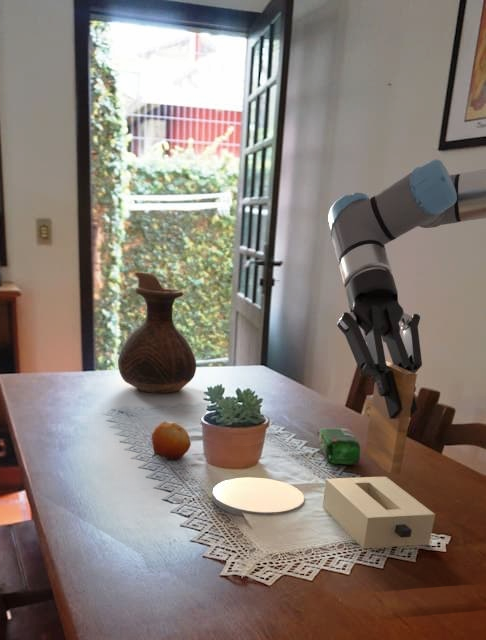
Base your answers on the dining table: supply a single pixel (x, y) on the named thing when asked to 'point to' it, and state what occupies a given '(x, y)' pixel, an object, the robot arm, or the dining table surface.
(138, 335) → the jug
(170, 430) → the fruit
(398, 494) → the toaster
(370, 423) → the toast
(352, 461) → the snack package
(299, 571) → the dining table surface
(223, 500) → the plate
